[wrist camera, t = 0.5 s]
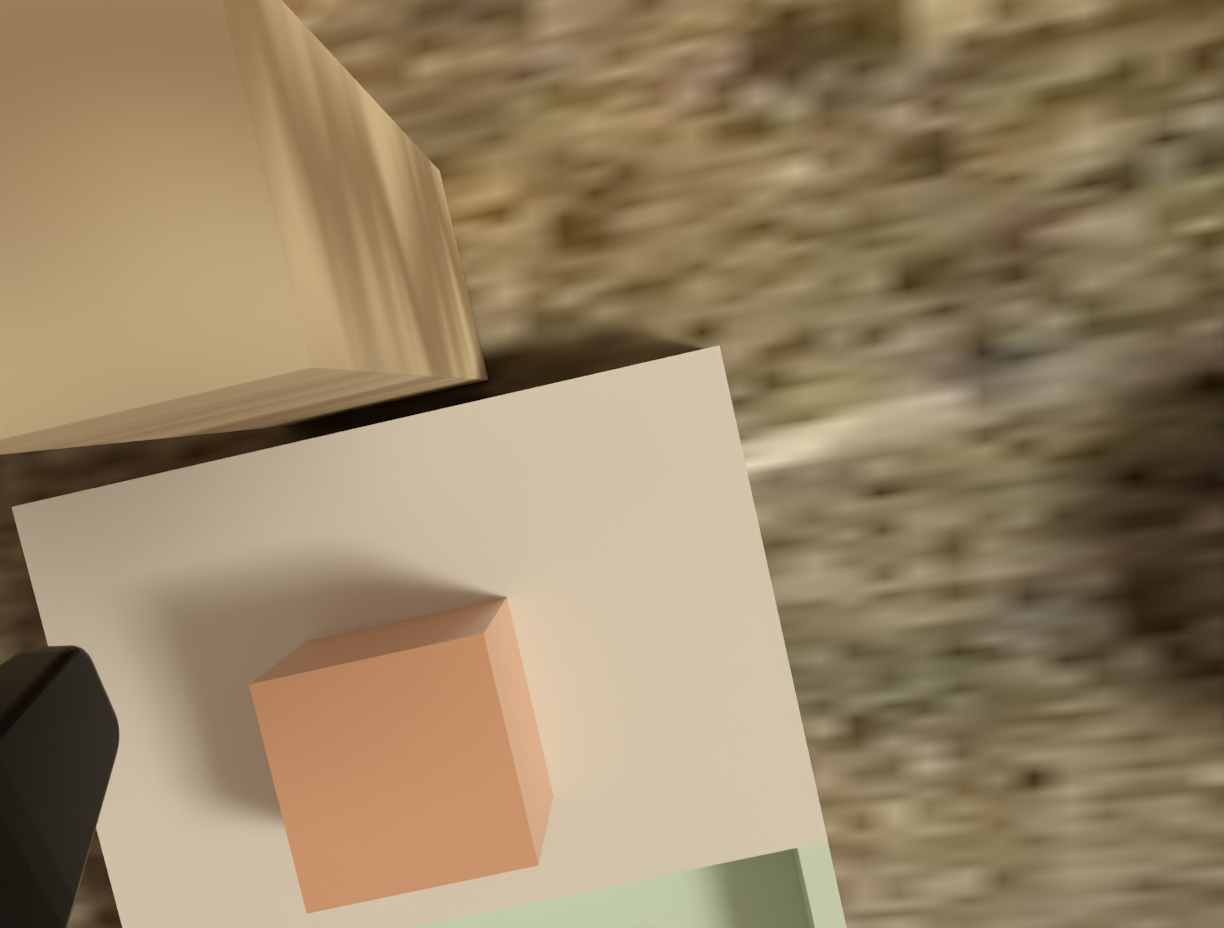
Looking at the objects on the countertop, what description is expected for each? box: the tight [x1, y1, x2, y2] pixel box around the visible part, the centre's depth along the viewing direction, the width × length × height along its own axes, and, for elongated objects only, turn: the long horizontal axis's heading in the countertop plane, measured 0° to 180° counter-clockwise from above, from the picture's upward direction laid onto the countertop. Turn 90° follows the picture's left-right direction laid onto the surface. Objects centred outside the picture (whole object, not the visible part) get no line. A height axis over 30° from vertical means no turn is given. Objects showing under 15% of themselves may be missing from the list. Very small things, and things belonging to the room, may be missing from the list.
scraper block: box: [0, 0, 488, 455], centre depth 16 cm, size 4×4×12 cm
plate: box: [12, 346, 828, 928], centre depth 22 cm, size 10×14×2 cm
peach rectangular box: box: [249, 597, 554, 914], centre depth 19 cm, size 4×4×3 cm
